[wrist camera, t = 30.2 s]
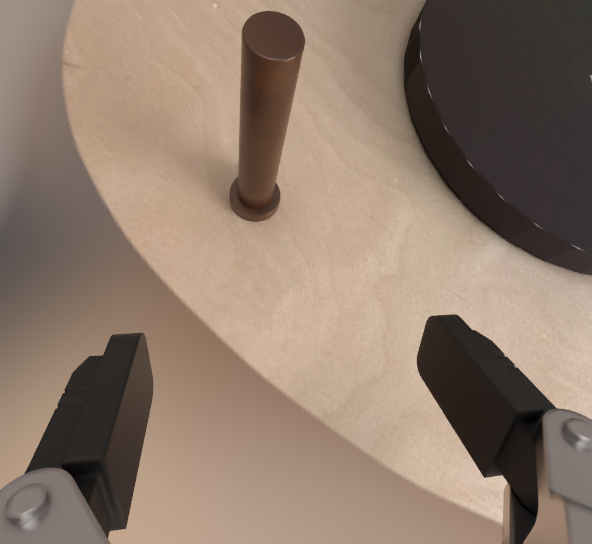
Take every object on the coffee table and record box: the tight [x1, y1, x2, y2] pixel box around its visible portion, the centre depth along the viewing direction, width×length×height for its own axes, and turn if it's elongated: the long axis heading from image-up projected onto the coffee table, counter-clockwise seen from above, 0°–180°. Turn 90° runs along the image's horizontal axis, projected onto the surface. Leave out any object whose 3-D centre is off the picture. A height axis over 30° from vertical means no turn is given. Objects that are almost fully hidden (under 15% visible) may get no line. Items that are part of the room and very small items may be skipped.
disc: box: [405, 0, 592, 275], centre depth 30 cm, size 30×30×3 cm
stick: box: [230, 11, 305, 221], centre depth 19 cm, size 3×3×12 cm
